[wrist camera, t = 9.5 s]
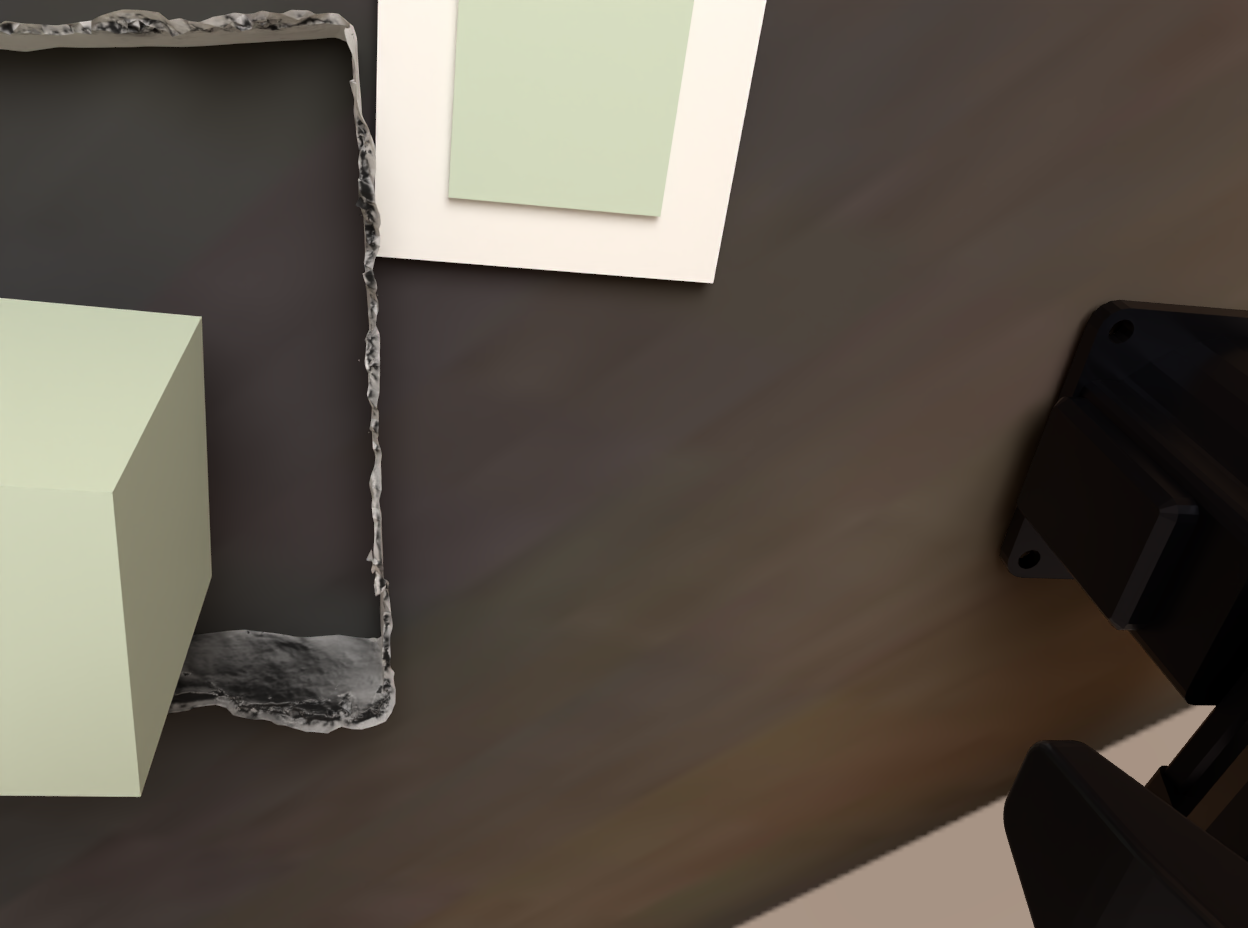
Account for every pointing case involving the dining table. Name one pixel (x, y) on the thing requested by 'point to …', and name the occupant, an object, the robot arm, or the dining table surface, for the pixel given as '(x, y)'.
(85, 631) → the sage block
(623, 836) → the dining table surface
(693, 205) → the card
